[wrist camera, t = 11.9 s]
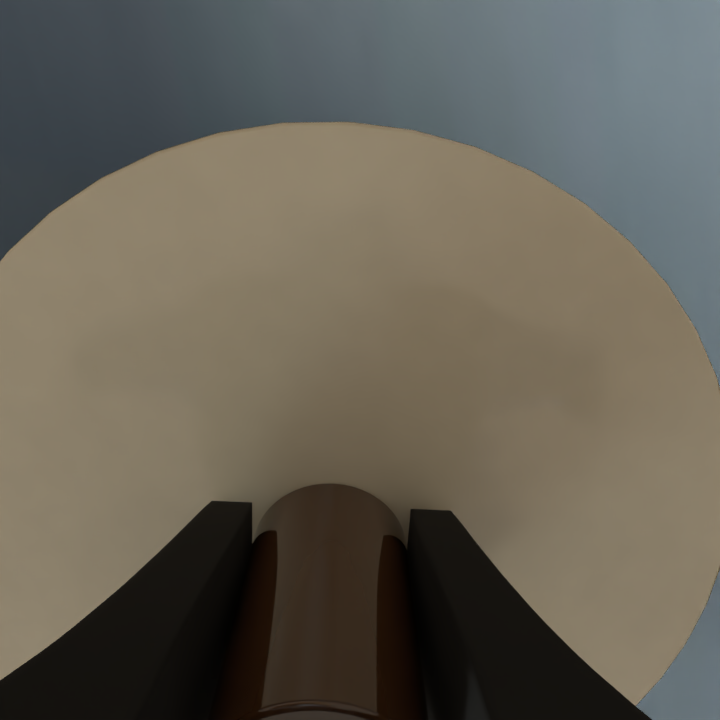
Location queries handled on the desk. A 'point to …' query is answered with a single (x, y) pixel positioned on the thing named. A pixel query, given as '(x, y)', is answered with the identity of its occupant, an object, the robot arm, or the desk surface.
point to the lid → (352, 408)
